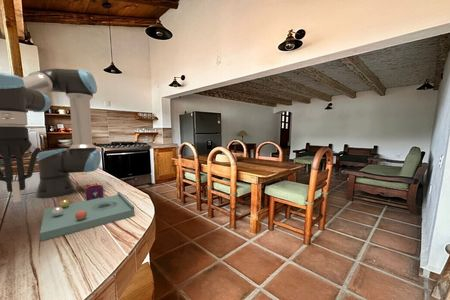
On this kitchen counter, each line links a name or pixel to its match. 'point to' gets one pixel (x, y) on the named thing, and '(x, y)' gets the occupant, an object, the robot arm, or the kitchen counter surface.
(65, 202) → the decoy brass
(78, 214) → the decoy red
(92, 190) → the mug
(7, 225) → the kitchen counter surface
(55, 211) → the steel ball
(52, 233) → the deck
